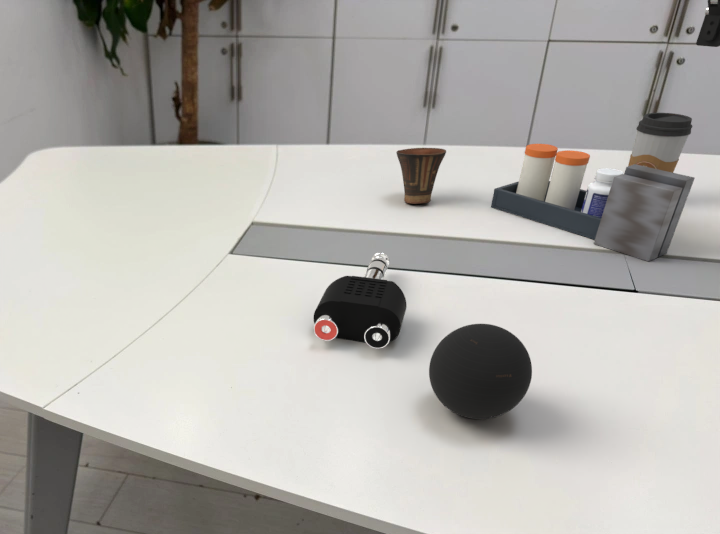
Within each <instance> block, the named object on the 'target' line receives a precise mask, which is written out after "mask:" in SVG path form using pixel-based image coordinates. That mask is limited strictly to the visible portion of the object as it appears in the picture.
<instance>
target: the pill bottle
mask: <svg viewBox="0 0 720 534" xmlns="http://www.w3.org/2000/svg"><path fill="white" fill-rule="evenodd" d="M621 174H624V171H622V170H621V169H617V168H611V167H602V168H598V169H597V170H596V172H595V175H594V180H595V181H592V182H590V183H589V184H588V186H587V189H586V191H587V192H586V195H585V199H584V202H583V206H582V209H581V212H582V213H586V214H589V215H593V216H596V217H600V218H602V215H603V212H604V208H605V205H606V202H607V198H608V195H609V192H610V189H611V185H612V182H613V179H614V177H615V176H618V175H621Z"/></svg>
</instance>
